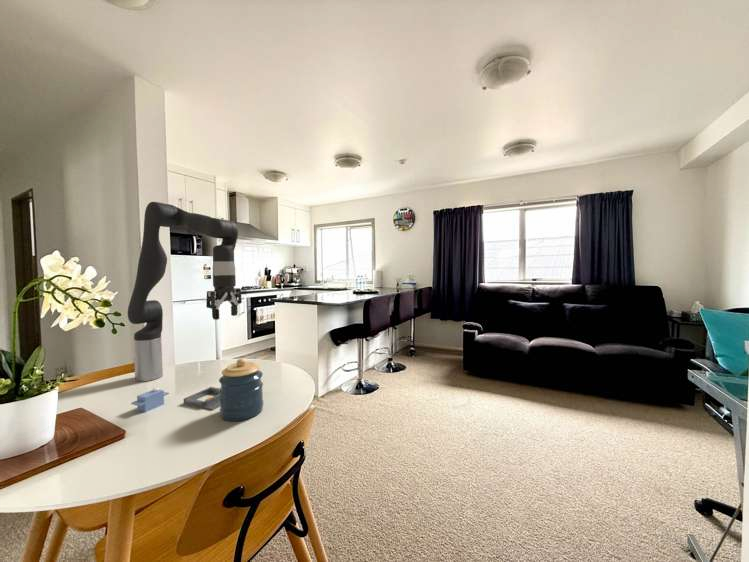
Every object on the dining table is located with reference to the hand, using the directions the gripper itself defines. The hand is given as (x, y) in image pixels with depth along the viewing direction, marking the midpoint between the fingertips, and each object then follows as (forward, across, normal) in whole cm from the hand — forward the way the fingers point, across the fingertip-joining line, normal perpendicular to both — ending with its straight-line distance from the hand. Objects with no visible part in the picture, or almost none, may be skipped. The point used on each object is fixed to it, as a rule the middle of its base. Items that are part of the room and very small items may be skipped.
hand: (225, 317), depth 112 cm
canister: (+29, +10, +16) cm, 35 cm away
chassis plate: (+29, +7, -1) cm, 29 cm away
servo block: (+29, +17, -16) cm, 37 cm away
